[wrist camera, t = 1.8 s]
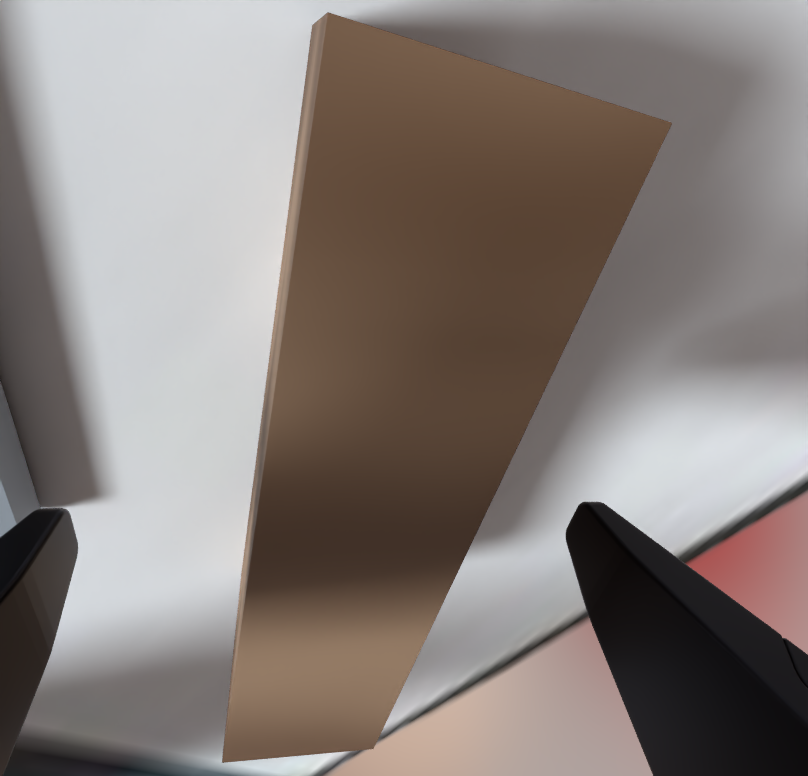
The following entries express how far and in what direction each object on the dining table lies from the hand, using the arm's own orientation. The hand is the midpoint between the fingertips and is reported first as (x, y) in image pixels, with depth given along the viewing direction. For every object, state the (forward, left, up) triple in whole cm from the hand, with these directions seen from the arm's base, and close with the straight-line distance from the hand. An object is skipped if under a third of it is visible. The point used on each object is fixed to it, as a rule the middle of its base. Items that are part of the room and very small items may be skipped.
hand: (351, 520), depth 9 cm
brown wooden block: (0, 0, -4) cm, 4 cm away
